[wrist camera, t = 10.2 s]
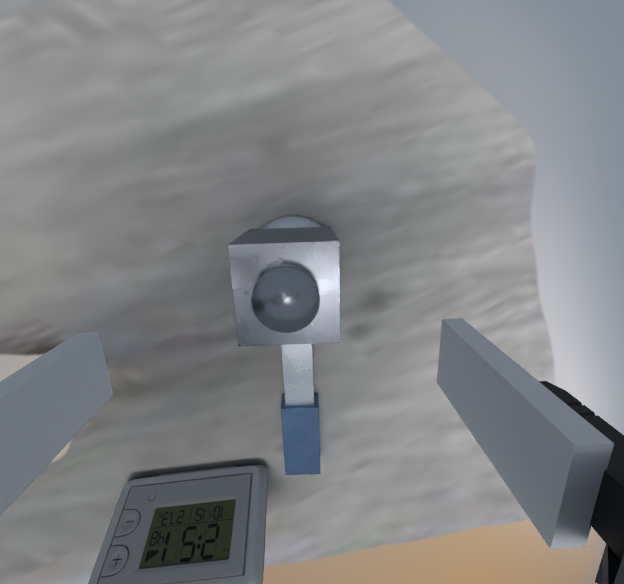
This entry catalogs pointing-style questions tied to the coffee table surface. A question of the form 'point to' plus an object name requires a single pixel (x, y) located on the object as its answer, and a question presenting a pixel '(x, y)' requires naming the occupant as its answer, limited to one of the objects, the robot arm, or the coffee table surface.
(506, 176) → the coffee table surface
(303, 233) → the socket
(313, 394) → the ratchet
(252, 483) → the digital clock
